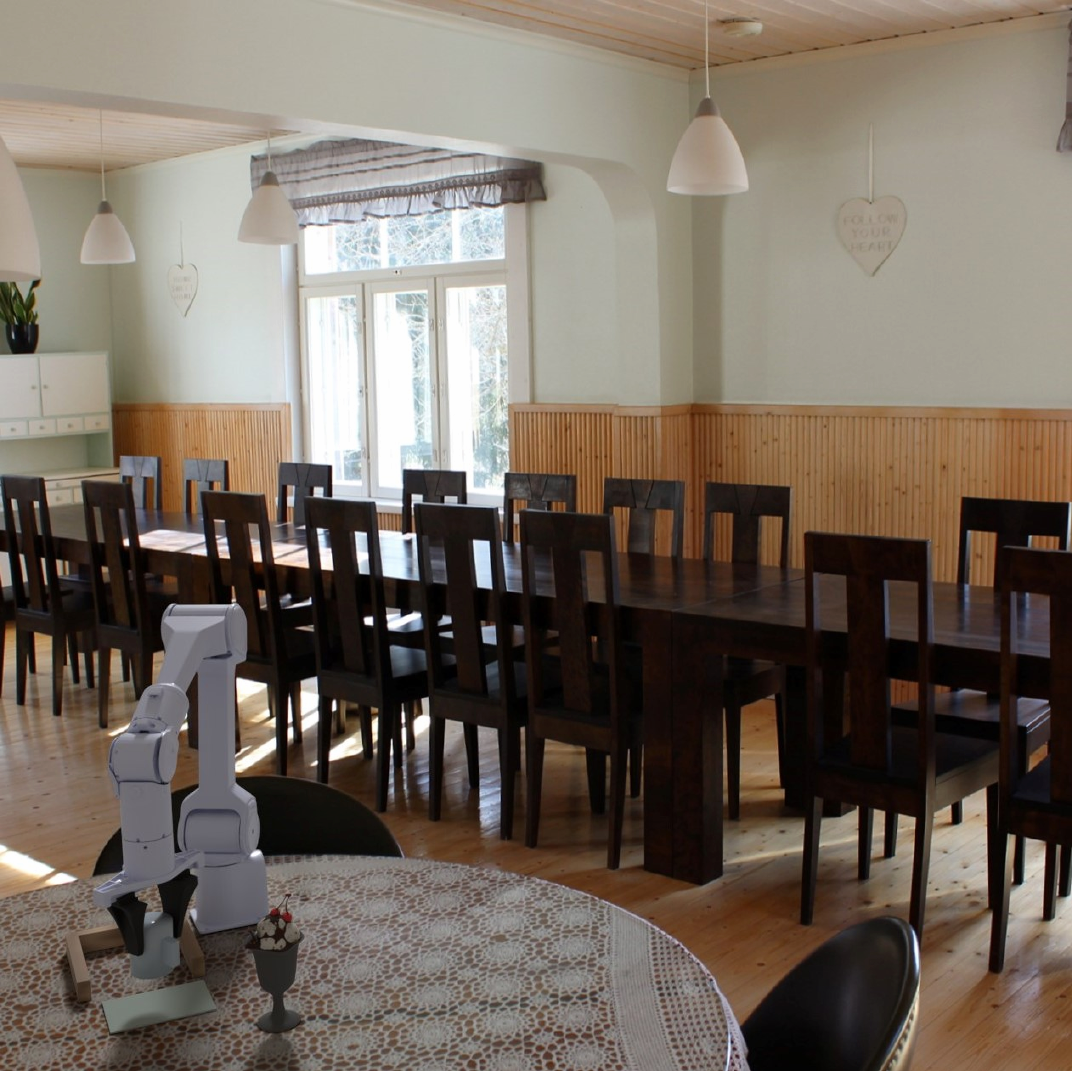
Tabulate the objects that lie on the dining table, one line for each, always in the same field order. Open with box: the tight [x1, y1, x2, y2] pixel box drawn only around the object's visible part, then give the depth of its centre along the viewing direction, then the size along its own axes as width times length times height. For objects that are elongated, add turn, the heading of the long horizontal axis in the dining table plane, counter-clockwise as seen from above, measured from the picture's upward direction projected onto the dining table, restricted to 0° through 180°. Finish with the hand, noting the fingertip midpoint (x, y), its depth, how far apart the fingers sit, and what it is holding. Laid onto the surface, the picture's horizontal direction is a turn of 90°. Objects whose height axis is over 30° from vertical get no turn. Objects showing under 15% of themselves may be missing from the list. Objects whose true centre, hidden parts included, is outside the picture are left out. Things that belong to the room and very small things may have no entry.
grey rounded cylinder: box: [129, 911, 181, 980], centre depth 153 cm, size 7×5×6 cm
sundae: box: [244, 893, 305, 1033], centre depth 149 cm, size 7×7×15 cm
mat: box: [101, 979, 218, 1035], centre depth 154 cm, size 12×8×1 cm, turn 115°
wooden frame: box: [64, 916, 206, 1003], centre depth 165 cm, size 15×15×2 cm
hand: (154, 944), depth 153 cm, fingers closed on grey rounded cylinder, 5 cm apart
